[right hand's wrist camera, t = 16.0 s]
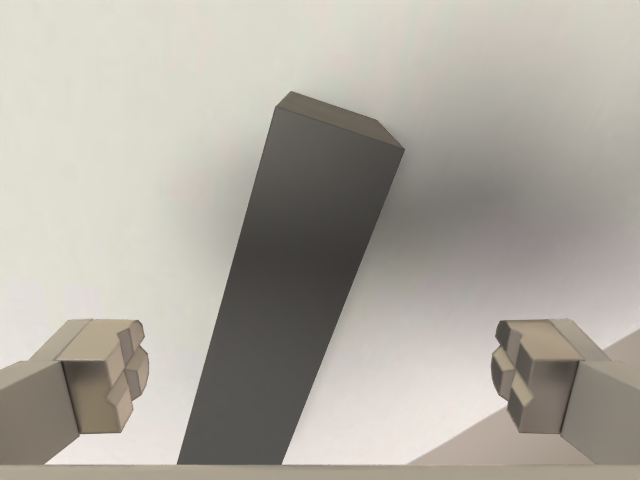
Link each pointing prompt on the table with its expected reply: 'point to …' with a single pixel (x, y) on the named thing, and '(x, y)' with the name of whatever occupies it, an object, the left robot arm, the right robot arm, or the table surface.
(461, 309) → the table surface
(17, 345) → the table surface
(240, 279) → the box
